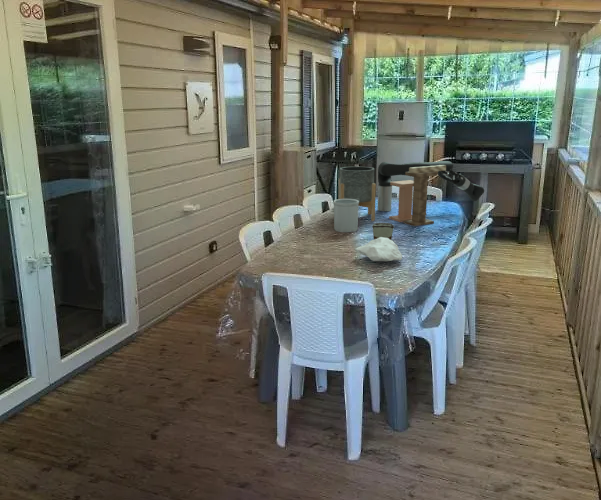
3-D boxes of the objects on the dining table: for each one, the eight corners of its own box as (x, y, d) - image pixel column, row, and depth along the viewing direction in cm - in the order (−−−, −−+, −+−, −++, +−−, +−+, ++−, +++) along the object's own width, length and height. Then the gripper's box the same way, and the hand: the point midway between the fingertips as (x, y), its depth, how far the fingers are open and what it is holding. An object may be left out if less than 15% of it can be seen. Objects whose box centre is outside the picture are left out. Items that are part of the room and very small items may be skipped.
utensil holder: (356, 233, 320) (357, 203, 316) (331, 232, 323) (331, 202, 319) (359, 227, 334) (360, 199, 330) (335, 226, 337) (335, 198, 332)
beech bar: (442, 169, 344) (442, 164, 344) (445, 170, 342) (446, 165, 341) (408, 172, 333) (409, 167, 332) (412, 173, 330) (412, 168, 329)
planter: (375, 221, 351) (376, 170, 343) (340, 221, 352) (340, 171, 343) (371, 213, 373) (372, 166, 364) (338, 213, 373) (338, 166, 364)
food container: (393, 240, 304) (393, 222, 302) (394, 243, 298) (394, 225, 296) (370, 239, 306) (371, 222, 303) (371, 242, 300) (371, 224, 297)
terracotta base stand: (408, 216, 364) (410, 180, 358) (420, 219, 354) (422, 182, 348) (388, 218, 357) (390, 181, 351) (400, 222, 347) (401, 184, 340)
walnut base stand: (423, 220, 351) (426, 170, 343) (433, 223, 343) (436, 172, 334) (403, 223, 344) (405, 172, 336) (413, 226, 336) (416, 173, 327)
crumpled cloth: (347, 264, 257) (351, 245, 254) (360, 244, 289) (363, 228, 287) (397, 275, 252) (401, 256, 249) (404, 254, 285) (408, 237, 282)
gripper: (466, 188, 345) (450, 177, 336) (450, 185, 357) (434, 174, 348) (471, 178, 345) (455, 166, 336) (455, 175, 357) (440, 163, 348)
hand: (445, 170), depth 342 cm, fingers open, 8 cm apart
